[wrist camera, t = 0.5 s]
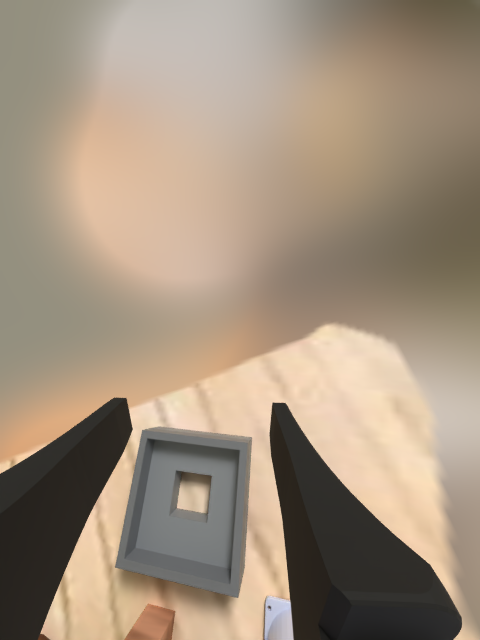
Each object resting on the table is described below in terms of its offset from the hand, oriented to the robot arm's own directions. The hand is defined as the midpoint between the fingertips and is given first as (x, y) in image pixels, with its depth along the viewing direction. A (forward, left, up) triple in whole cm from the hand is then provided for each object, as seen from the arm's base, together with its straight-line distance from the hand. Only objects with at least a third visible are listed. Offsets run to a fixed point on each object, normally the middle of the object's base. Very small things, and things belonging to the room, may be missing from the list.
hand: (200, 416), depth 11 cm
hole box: (-13, +8, -28) cm, 32 cm away
